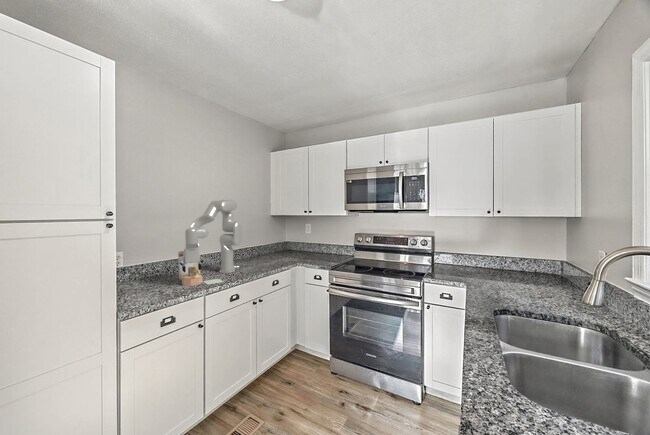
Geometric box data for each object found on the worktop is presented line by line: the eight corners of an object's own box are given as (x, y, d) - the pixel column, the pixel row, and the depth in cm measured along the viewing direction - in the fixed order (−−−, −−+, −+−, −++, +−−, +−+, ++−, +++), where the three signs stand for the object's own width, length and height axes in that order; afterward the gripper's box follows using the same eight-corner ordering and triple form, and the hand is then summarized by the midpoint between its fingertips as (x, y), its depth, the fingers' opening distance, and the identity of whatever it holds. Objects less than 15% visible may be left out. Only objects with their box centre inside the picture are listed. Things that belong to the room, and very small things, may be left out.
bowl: (198, 280, 194) (198, 273, 194) (204, 284, 185) (203, 276, 185) (180, 283, 186) (180, 276, 186) (185, 287, 177) (185, 279, 177)
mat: (218, 279, 198) (218, 278, 198) (224, 282, 190) (224, 281, 189) (202, 282, 190) (202, 281, 190) (207, 285, 182) (207, 284, 182)
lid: (198, 273, 194) (198, 265, 194) (204, 277, 185) (203, 267, 185) (180, 276, 186) (180, 267, 186) (185, 279, 177) (184, 270, 177)
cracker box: (198, 276, 208) (198, 249, 207) (200, 277, 203) (200, 250, 203) (178, 279, 199) (178, 251, 199) (180, 280, 195) (179, 252, 194)
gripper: (203, 244, 194) (203, 268, 194) (176, 246, 182) (176, 271, 183) (206, 245, 188) (206, 269, 188) (179, 248, 177) (179, 273, 177)
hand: (192, 270), depth 186 cm, fingers open, 9 cm apart
